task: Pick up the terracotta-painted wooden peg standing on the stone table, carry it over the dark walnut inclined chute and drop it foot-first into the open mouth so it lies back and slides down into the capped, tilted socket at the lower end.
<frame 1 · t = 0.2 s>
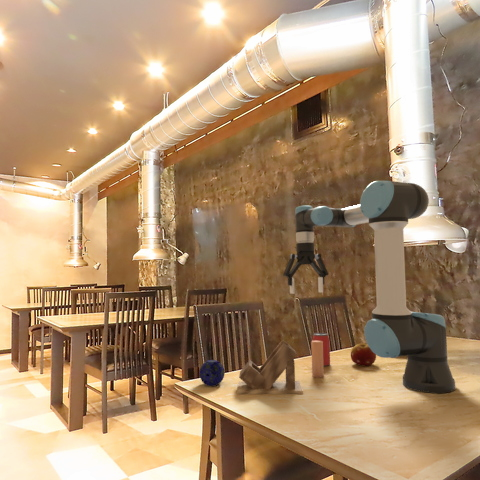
hand: (306, 293, 169), 28 cm above the table, fingers open, 13 cm apart
sugar bowl: (396, 352, 181), on the table
socket: (277, 388, 128), on the table
peg: (318, 376, 142), on the table
fruit: (363, 365, 158), on the table
ball: (212, 385, 135), on the table
beer can: (321, 365, 159), on the table
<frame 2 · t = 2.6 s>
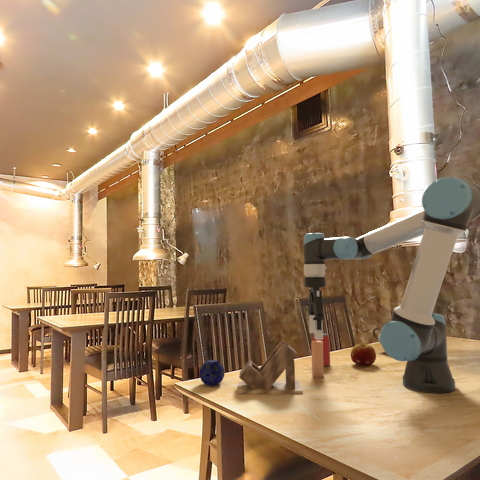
hand: (316, 336, 144), 14 cm above the table, fingers open, 13 cm apart
nothing on the table moved.
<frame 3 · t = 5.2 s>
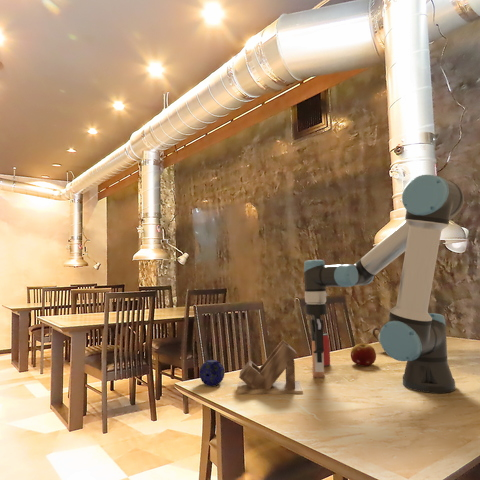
hand: (318, 369, 142), 2 cm above the table, fingers closed on peg, 4 cm apart
peg: (318, 376, 142), on the table, touching gripper
everything else where it was.
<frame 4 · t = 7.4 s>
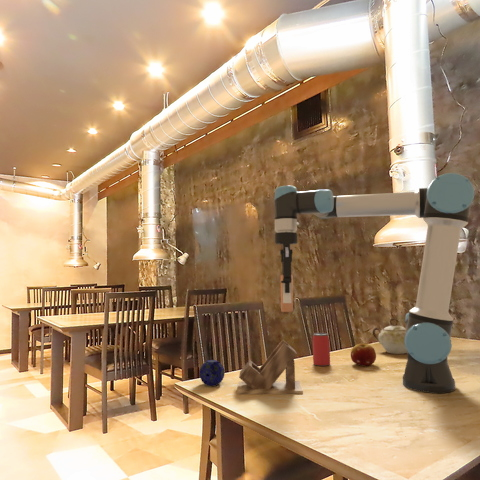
hand: (287, 302, 134), 27 cm above the table, fingers closed on peg, 4 cm apart
peg: (286, 311, 134), point 24 cm above the table, touching gripper
everything else where it was.
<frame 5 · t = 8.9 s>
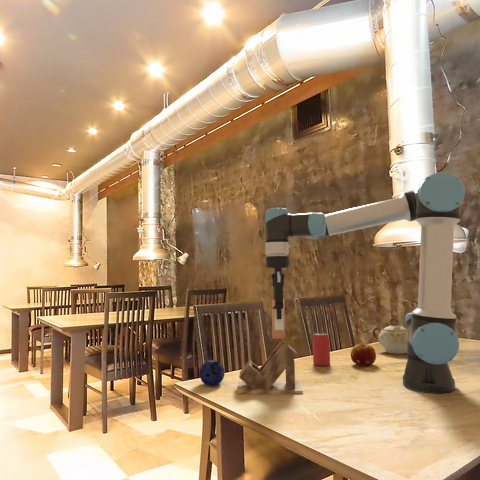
hand: (278, 328, 130), 19 cm above the table, fingers closed on peg, 4 cm apart
peg: (278, 337, 129), point 16 cm above the table, touching gripper
everything else where it was.
when the fingers open (16 cm above the table, at t = 10.0 s): peg drops 11 cm and tips over, resting on socket.
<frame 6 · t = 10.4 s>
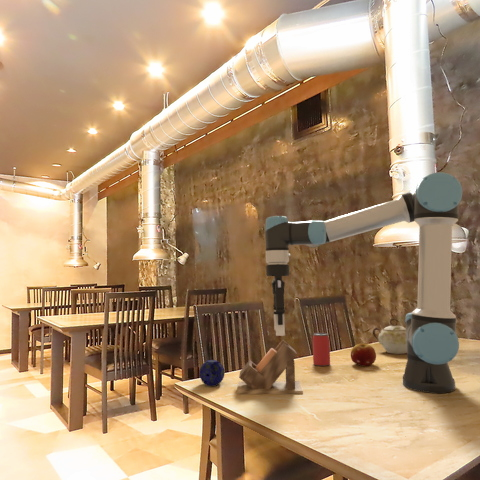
hand: (279, 332, 129), 17 cm above the table, fingers open, 10 cm apart
peg: (252, 381, 128), point 2 cm above the table, tilted 40°, touching socket
everything else where it was.
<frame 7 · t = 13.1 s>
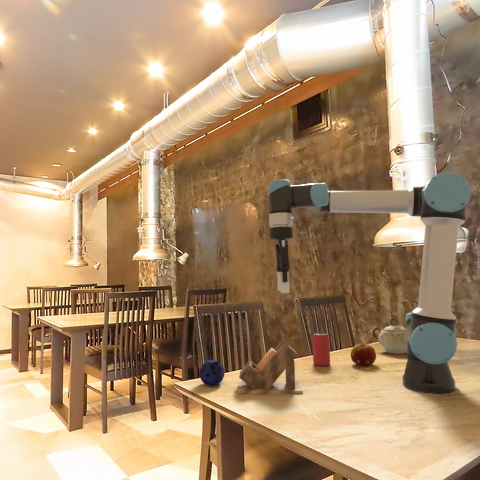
hand: (283, 292, 131), 30 cm above the table, fingers open, 13 cm apart
nothing on the table moved.
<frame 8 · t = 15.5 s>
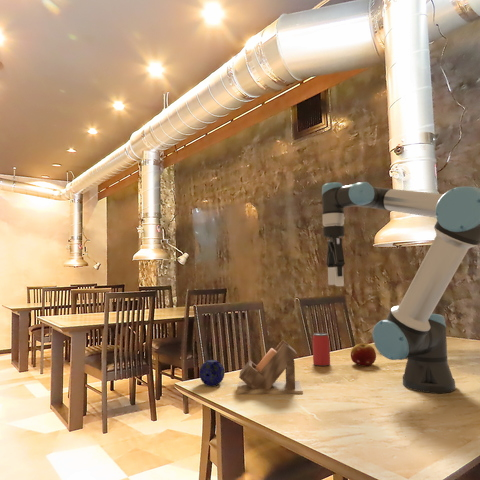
hand: (335, 285, 143), 32 cm above the table, fingers open, 13 cm apart
nothing on the table moved.
at the end: peg 1.1 cm from the target spot on the socket, point 2.3 cm above the socket's base; peg tilted 40°; the gripper is holding nothing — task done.
